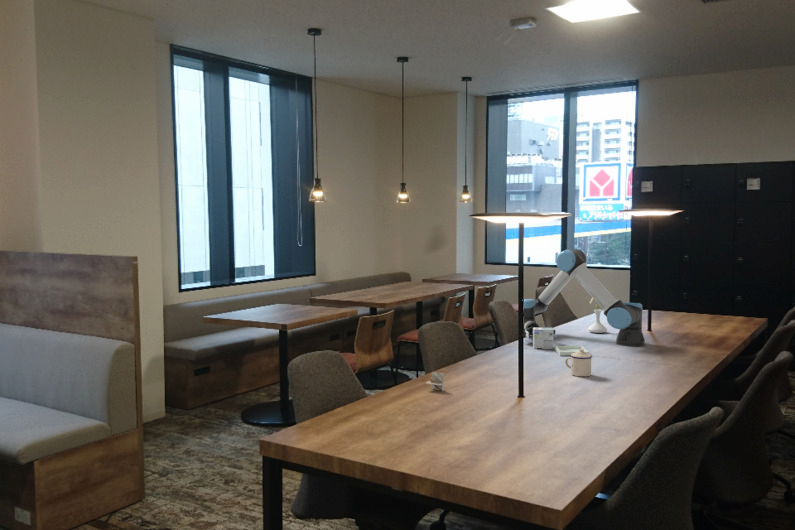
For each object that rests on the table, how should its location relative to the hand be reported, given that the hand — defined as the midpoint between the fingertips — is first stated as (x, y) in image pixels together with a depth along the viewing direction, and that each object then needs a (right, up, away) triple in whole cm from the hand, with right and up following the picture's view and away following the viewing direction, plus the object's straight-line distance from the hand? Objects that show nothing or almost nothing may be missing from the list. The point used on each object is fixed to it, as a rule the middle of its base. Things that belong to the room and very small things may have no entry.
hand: (540, 334), depth 372 cm
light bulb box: (+1, -7, -4) cm, 8 cm away
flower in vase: (+43, -3, +43) cm, 61 cm away
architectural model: (-62, -14, -92) cm, 111 cm away
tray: (+12, -8, -17) cm, 23 cm away
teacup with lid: (+3, -11, -66) cm, 67 cm away
